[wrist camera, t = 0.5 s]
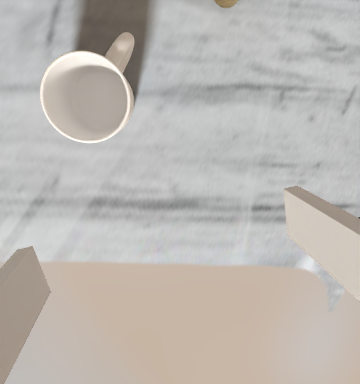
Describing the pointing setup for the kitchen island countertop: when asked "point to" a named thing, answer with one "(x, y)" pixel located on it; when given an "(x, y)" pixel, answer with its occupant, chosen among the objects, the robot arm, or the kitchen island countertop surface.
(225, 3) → the pin
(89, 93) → the mug
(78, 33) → the kitchen island countertop surface
